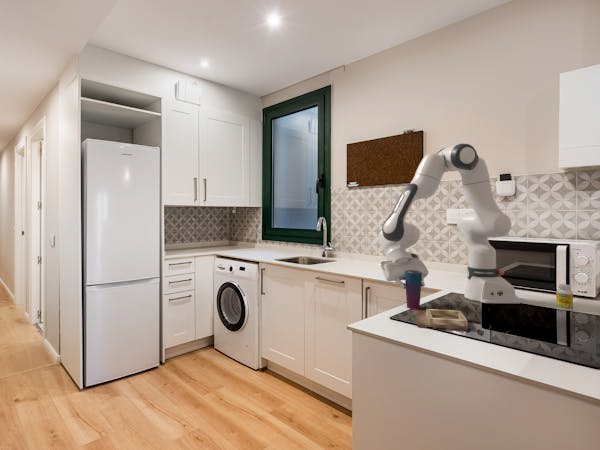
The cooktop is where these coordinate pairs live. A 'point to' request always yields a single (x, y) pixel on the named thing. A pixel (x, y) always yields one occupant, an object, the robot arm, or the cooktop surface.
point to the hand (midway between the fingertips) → (413, 287)
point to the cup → (413, 288)
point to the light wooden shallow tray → (441, 319)
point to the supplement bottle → (564, 297)
